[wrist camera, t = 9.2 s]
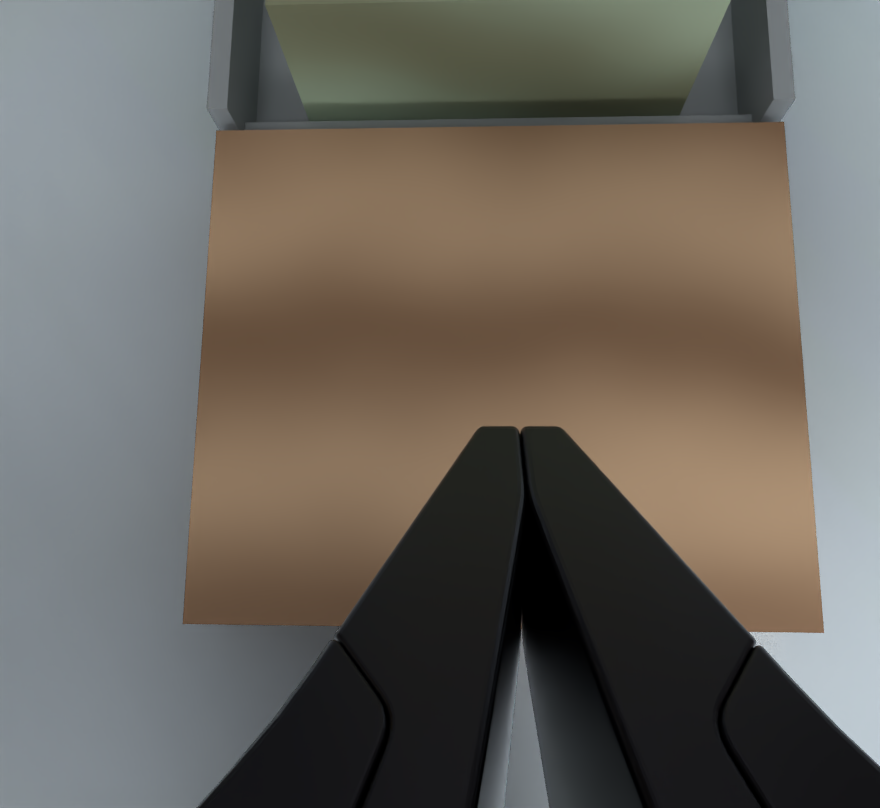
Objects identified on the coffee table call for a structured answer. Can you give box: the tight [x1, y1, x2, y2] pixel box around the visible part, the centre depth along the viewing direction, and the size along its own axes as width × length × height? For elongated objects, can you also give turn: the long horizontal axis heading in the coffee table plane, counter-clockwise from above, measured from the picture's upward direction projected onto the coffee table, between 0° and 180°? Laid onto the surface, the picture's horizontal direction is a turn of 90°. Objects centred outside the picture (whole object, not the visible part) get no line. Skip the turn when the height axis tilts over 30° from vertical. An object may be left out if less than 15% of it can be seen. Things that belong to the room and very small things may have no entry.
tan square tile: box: [183, 122, 824, 633], centre depth 20 cm, size 12×14×2 cm
